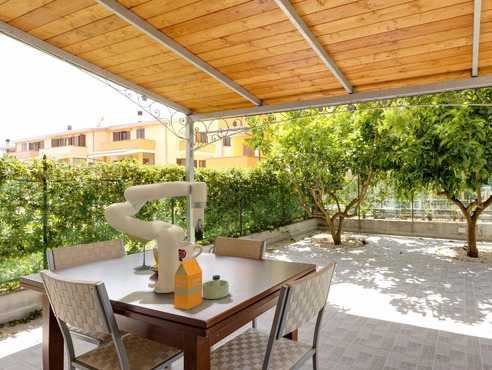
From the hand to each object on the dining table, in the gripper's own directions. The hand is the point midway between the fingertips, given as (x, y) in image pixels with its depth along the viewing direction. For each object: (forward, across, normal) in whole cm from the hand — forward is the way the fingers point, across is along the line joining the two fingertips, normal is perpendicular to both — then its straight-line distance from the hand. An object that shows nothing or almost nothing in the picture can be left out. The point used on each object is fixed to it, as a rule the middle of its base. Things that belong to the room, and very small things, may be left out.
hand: (198, 238), depth 165 cm
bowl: (+26, +14, +7) cm, 31 cm away
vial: (+26, +14, +7) cm, 30 cm away
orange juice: (+26, +22, -6) cm, 35 cm away
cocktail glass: (+26, -62, -29) cm, 73 cm away
